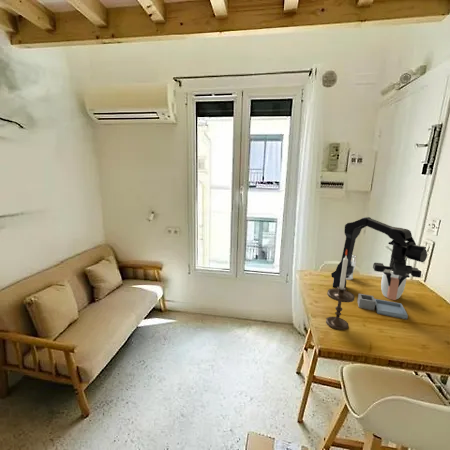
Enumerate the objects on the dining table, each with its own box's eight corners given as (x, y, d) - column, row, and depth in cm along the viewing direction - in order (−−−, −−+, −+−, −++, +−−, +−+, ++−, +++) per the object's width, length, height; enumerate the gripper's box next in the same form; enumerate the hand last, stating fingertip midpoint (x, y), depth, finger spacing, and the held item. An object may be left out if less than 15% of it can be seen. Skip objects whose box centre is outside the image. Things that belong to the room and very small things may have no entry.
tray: (377, 314, 127) (378, 309, 126) (373, 303, 138) (374, 298, 137) (406, 320, 123) (407, 315, 122) (400, 308, 134) (401, 303, 133)
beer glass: (354, 280, 166) (358, 257, 163) (343, 279, 167) (346, 256, 164) (352, 276, 172) (355, 254, 169) (340, 275, 174) (343, 253, 171)
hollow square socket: (358, 308, 132) (360, 299, 131) (357, 302, 138) (358, 293, 137) (373, 311, 130) (375, 301, 129) (371, 304, 136) (373, 296, 135)
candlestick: (344, 334, 110) (356, 254, 103) (319, 323, 117) (328, 248, 110) (353, 324, 118) (365, 249, 111) (329, 314, 125) (338, 243, 118)
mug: (386, 289, 155) (389, 268, 153) (407, 296, 147) (412, 274, 144) (375, 295, 146) (379, 273, 143) (398, 304, 138) (402, 280, 135)
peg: (388, 298, 128) (391, 279, 126) (386, 295, 131) (390, 276, 129) (395, 300, 127) (399, 280, 125) (394, 297, 130) (397, 278, 128)
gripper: (378, 257, 120) (373, 289, 123) (428, 263, 114) (421, 297, 117) (375, 251, 130) (370, 280, 134) (420, 256, 124) (414, 287, 127)
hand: (393, 286), depth 127 cm, fingers closed on peg, 3 cm apart
